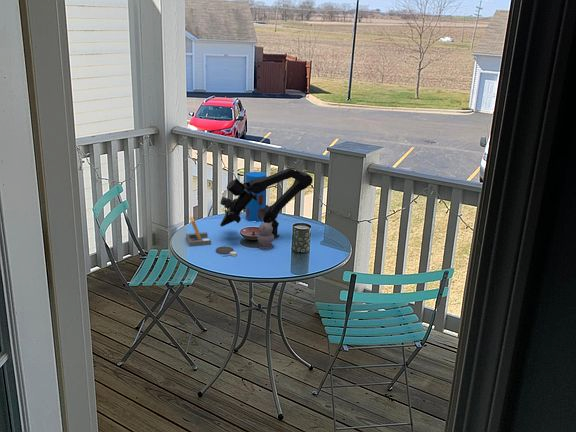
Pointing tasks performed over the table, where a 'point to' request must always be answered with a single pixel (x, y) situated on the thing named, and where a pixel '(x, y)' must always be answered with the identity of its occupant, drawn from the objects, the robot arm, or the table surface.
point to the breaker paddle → (195, 228)
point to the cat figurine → (265, 236)
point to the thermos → (254, 206)
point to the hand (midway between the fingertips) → (220, 225)
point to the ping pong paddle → (226, 251)
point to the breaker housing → (198, 242)
